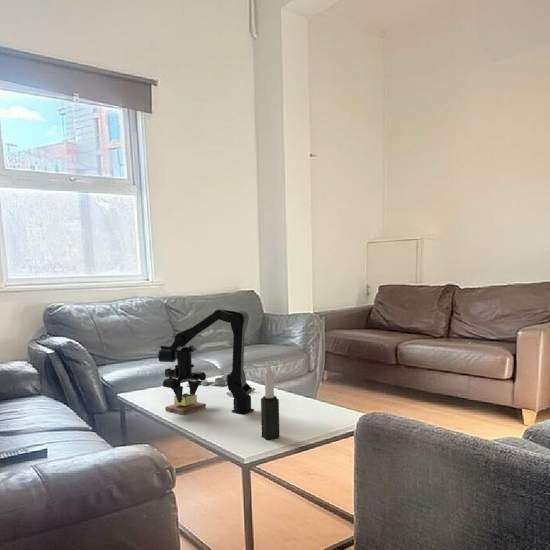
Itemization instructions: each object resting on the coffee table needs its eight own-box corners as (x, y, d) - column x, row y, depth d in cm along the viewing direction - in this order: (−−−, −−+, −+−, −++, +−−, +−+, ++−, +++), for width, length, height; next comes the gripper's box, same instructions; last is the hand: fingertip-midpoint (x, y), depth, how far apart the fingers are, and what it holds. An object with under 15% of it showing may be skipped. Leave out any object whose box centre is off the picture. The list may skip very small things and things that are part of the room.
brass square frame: (196, 402, 197) (196, 395, 197) (185, 406, 192) (184, 398, 192) (186, 400, 201) (186, 392, 201) (174, 403, 196) (174, 396, 196)
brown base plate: (206, 407, 198) (205, 392, 198) (184, 415, 188) (183, 398, 188) (187, 403, 205) (187, 388, 205) (165, 410, 195) (165, 394, 195)
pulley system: (246, 383, 242) (231, 376, 254) (246, 374, 241) (231, 368, 254) (197, 395, 226) (183, 387, 238) (197, 385, 226) (183, 378, 238)
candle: (260, 435, 163) (258, 362, 162) (274, 433, 165) (272, 360, 165) (266, 440, 158) (264, 364, 158) (280, 437, 160) (278, 363, 160)
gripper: (188, 356, 209) (189, 392, 209) (153, 364, 194) (154, 403, 194) (206, 359, 202) (207, 396, 202) (171, 367, 187) (173, 407, 187)
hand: (185, 400), depth 197 cm, fingers closed on brass square frame, 6 cm apart
